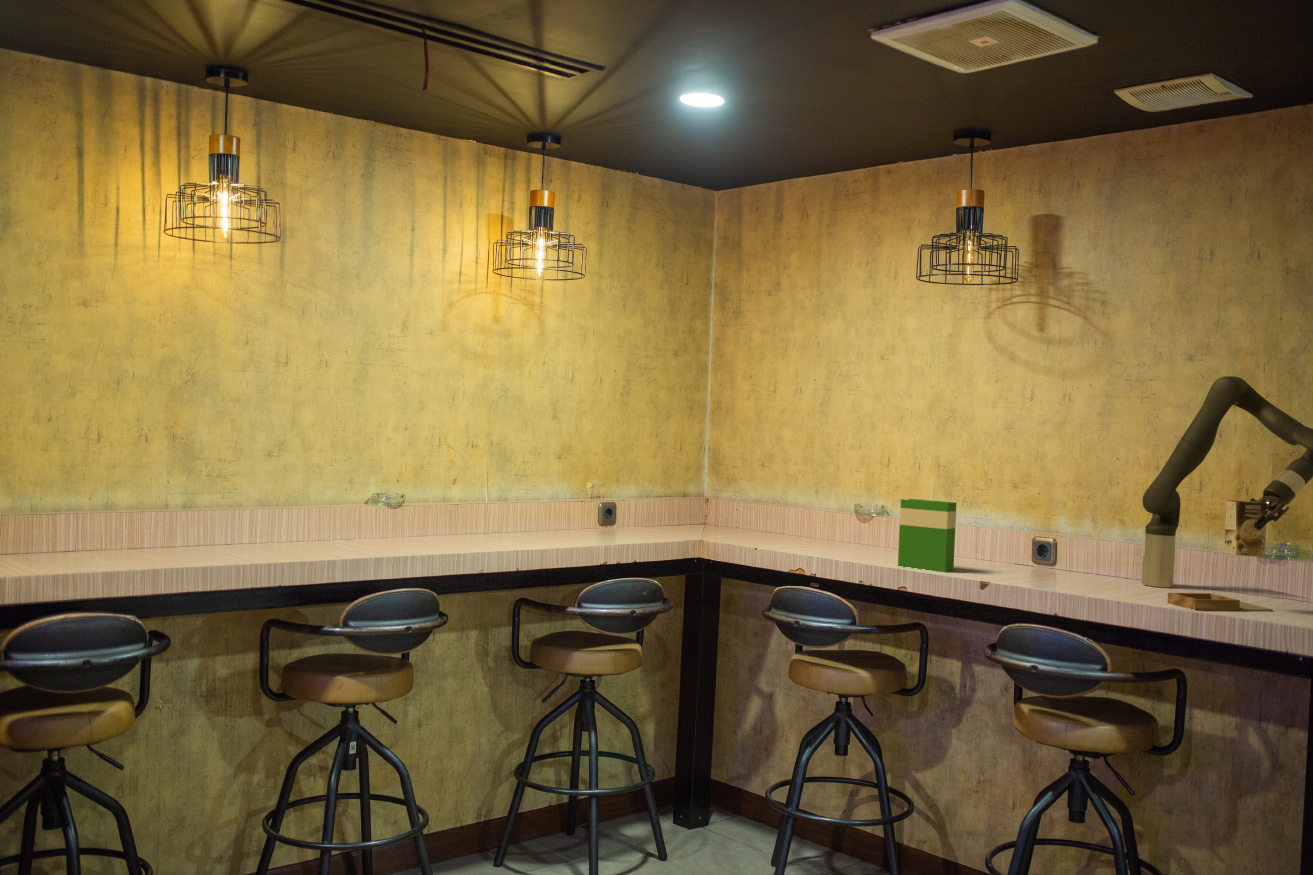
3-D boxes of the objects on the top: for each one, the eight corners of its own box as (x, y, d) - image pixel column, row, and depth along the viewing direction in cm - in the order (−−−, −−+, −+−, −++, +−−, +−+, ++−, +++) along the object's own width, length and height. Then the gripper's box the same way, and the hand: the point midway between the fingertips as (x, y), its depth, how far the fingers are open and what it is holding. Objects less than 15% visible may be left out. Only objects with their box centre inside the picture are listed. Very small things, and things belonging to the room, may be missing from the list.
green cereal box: (897, 566, 382) (900, 499, 382) (906, 564, 388) (909, 498, 387) (945, 572, 371) (948, 503, 371) (953, 570, 377) (956, 502, 377)
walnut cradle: (1167, 602, 322) (1168, 592, 322) (1210, 603, 324) (1211, 593, 324) (1194, 610, 309) (1195, 599, 309) (1239, 610, 312) (1239, 600, 312)
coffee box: (1235, 555, 316) (1237, 501, 315) (1223, 553, 322) (1225, 499, 322) (1266, 556, 316) (1268, 502, 316) (1253, 554, 322) (1255, 500, 322)
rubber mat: (1212, 602, 324) (1212, 601, 324) (1241, 603, 326) (1241, 601, 326) (1242, 610, 312) (1242, 609, 312) (1273, 611, 313) (1273, 609, 313)
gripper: (1259, 477, 327) (1223, 515, 325) (1294, 480, 313) (1257, 520, 311) (1274, 495, 328) (1238, 533, 326) (1310, 499, 314) (1272, 538, 312)
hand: (1247, 526), depth 319 cm, fingers closed on coffee box, 7 cm apart
